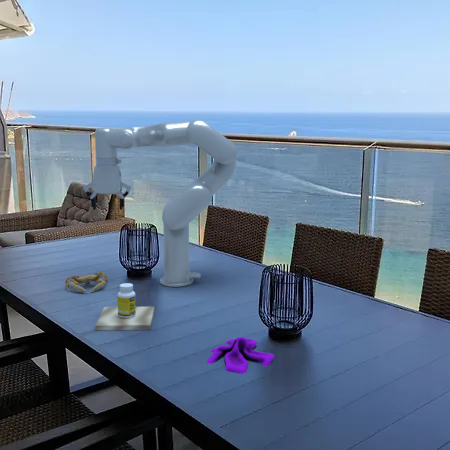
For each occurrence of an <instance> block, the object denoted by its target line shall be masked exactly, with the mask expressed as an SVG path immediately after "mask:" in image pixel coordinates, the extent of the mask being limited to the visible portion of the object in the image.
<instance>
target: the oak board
mask: <svg viewBox="0 0 450 450" xmlns="http://www.w3.org/2000/svg"><path fill="white" fill-rule="evenodd" d="M154 314H155V306H136V314H135V316H133V317H131V318H121V317H119V316H118V306H104V307H103V309H102V311H101V313H100V315H99V317H98V320H97V322H96V323H95V326H94V327H95V328H94V329H95V331H150V330H151V328H152V324H153V318H154Z"/></svg>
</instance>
